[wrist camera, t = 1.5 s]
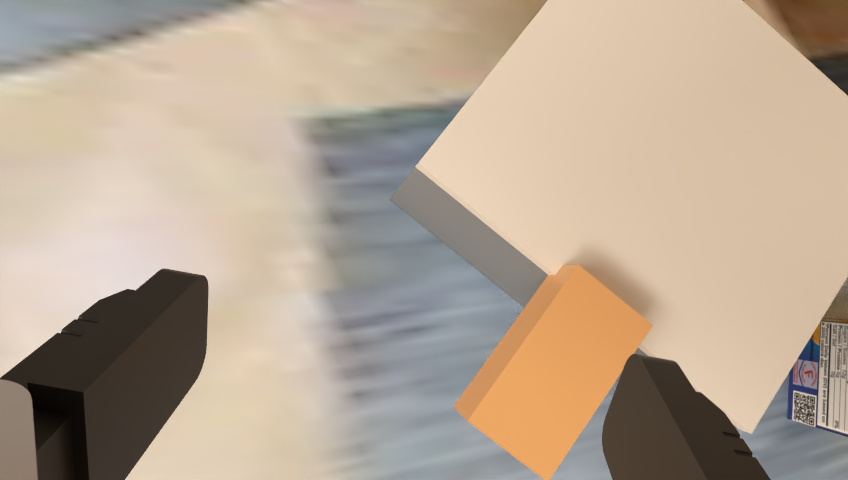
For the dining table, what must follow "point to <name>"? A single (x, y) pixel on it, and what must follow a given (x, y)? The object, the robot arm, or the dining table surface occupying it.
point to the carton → (470, 238)
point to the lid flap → (650, 208)
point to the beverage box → (822, 379)
